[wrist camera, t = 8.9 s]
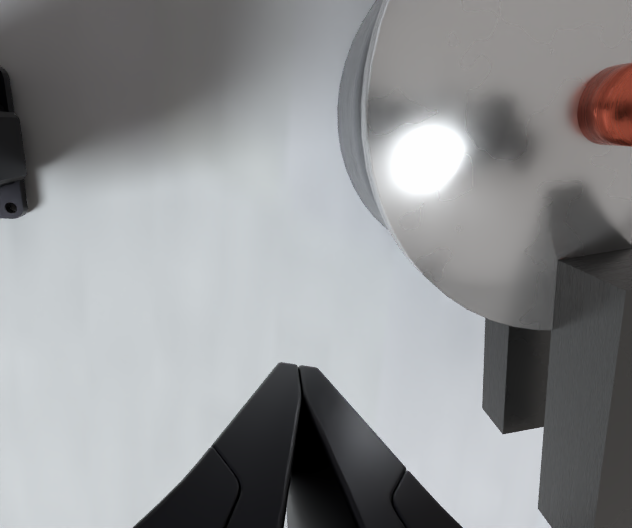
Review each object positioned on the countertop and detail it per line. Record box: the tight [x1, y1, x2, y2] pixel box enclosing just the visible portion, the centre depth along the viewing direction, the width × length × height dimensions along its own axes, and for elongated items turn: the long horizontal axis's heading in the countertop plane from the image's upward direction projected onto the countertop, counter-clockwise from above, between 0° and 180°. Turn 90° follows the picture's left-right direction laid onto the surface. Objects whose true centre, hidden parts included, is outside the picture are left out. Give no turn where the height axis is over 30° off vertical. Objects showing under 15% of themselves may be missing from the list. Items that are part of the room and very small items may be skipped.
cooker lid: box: [361, 0, 632, 528], centre depth 14 cm, size 25×16×4 cm, turn 7°
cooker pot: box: [337, 0, 551, 434], centre depth 18 cm, size 26×15×7 cm, turn 5°
